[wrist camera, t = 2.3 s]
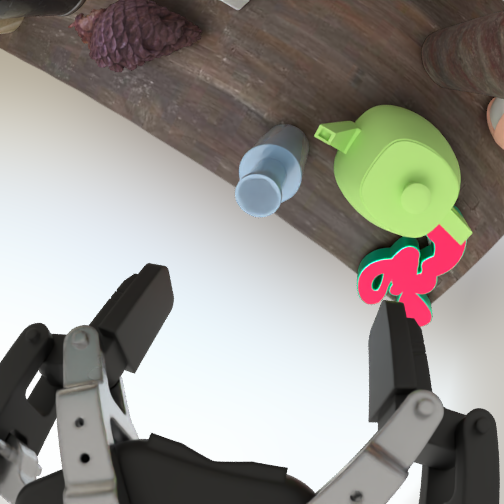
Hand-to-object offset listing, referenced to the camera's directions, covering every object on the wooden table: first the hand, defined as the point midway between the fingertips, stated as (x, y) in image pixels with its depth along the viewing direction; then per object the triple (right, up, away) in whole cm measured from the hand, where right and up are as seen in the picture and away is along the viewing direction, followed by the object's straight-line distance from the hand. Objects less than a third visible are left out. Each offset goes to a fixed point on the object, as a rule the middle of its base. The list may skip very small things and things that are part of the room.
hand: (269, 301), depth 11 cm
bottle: (+3, +15, +25) cm, 29 cm away
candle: (+22, +24, +13) cm, 35 cm away
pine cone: (-14, +30, +20) cm, 39 cm away
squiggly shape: (+24, 0, +27) cm, 36 cm away
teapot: (+16, +13, +22) cm, 30 cm away
